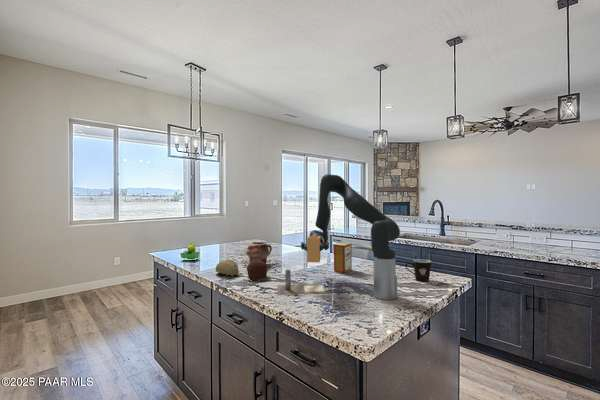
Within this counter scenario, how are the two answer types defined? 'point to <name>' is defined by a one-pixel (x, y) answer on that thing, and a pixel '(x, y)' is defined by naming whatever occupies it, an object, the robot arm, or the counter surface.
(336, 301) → the counter surface
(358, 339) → the counter surface
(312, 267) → the counter surface
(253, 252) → the reddish brown pitcher
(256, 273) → the muffin
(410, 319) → the counter surface
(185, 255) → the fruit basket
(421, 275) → the coffee mug
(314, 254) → the sleeve
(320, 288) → the post board
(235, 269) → the bread roll
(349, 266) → the baking soda box
